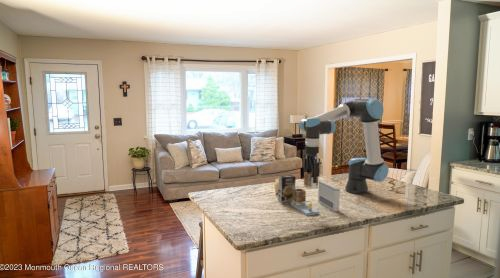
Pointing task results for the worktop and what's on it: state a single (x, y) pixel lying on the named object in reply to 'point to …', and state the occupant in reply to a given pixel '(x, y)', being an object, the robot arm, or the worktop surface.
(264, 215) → the worktop surface
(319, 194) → the feeder housing
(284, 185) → the coffee box
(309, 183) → the sleeve
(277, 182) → the sculpture
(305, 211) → the pin board
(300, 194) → the sleeve
